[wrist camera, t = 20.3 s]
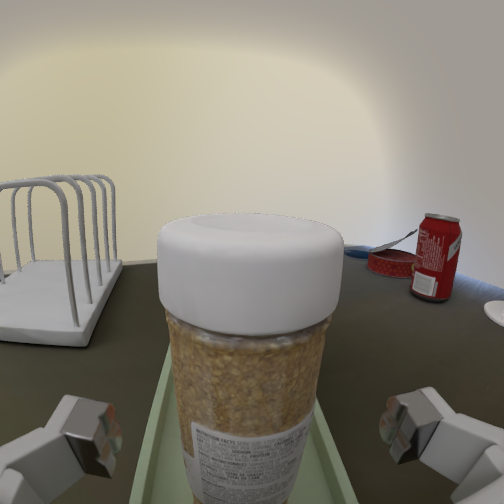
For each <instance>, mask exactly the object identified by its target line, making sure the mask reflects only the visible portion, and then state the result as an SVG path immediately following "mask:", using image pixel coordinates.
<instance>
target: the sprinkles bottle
mask: <svg viewBox="0 0 504 504" xmlns="http://www.w3.org/2000/svg"><path fill="white" fill-rule="evenodd" d="M343 253H344V241H343V238H342V236H341V234H340V233H339V232H338V231H337V230H335V229H334V228H332V227H330V226H328V225H325V224H322V223H319V222H316V221H312V220H306V219H301V218H295V217H288V216H281V215H272V214H260V213H219V214H206V215H195V216H189V217H184V218H180V219H175V220H173V221H171V222H168V223H166V224H165V225H164V226H163V227H162V228H161V229H160V231H159V233H158V239H157V266H158V284H159V297H160V301H161V303H162V304H163V306H164V307H165V311H166V317H167V318H166V321H167V322H168V326H169V333H170V343H171V347H170V349H171V358H172V371H173V380H174V388H175V396H176V403H177V412H178V419H179V426H180V431H181V433H180V442H181V448H182V453H183V459H184V465H185V470H186V474H187V479H188V483H189V486H190V488H191V490H192V494H193V500H194V501H193V504H287V501H288V497H289V495H290V493H291V492H292V490H293V487H294V484H295V481H296V477H297V474H298V470H299V467H300V463H301V459H302V456H303V452H304V448H305V445H306V441H307V437H308V433H309V429H310V425H311V421H312V417H313V413H314V408H315V404H316V389H317V380H318V377H319V369H320V365H321V358H322V353H323V349H324V344H325V339H326V329H327V328H328V326H329V325H330V323H331V320H332V312H333V311H334V310H335V308H336V306H337V303H338V299H339V292H340V285H341V276H342V265H343Z"/></svg>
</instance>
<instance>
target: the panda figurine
mask: <svg viewBox="0 0 504 504" xmlns="http://www.w3.org/2000/svg"><path fill="white" fill-rule="evenodd" d="M484 312H485V314H486V315H487V316H488V317H489V318H490V319H491V320H493V321H494V322H496V323H497V324H499V325H501V326H503V327H504V301H490V302H487V303H486V304H485V306H484Z"/></svg>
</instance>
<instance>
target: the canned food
mask: <svg viewBox="0 0 504 504" xmlns="http://www.w3.org/2000/svg"><path fill="white" fill-rule="evenodd" d="M416 231H417V229H416V230H415V231H413V232H410V233H409V234H408V235H407V236H406V237H405V238H407V237H408V236H410V235H412V234H414V233H415V232H416ZM405 238H403V239H405ZM403 239H401V240H398V241H395V242H391V243H389V244H385V245H383V246H380V247H376V248H374V249H371V250H369V257H368V265H367V268H368V269H369V270H371V271H372V272H374V273H377V274H380V275H383V276H388V277H394V278H412V273H413V268H414V262H415V255H414V254H412V253H408V252H405V251H401V250H396V249H388V248H390V247H392V246H394V245H396V244H397V243H399V242H401V241H402V240H403Z"/></svg>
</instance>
